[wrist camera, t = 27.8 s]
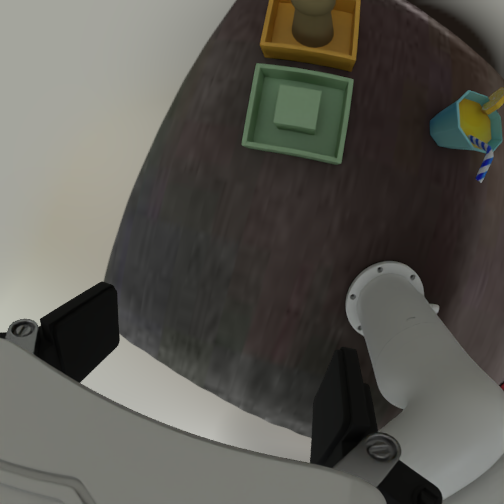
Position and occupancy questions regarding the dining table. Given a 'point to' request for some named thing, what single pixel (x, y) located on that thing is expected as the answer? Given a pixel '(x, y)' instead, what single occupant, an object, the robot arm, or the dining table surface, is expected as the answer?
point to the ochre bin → (331, 55)
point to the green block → (297, 109)
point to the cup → (471, 126)
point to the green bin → (289, 142)
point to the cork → (313, 22)
